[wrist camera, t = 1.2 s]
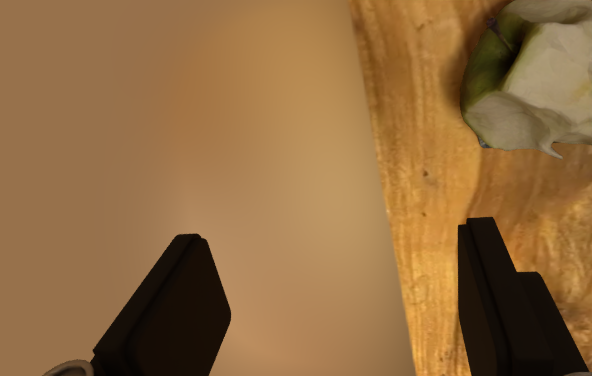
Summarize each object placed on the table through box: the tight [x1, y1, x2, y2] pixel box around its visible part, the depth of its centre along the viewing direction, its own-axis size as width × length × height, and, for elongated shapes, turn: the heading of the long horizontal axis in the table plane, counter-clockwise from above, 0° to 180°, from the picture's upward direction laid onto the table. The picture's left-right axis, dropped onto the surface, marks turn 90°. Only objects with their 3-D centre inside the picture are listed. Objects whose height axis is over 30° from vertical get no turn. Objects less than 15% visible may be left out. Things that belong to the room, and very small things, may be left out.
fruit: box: [460, 0, 592, 159], centre depth 21 cm, size 9×9×8 cm
